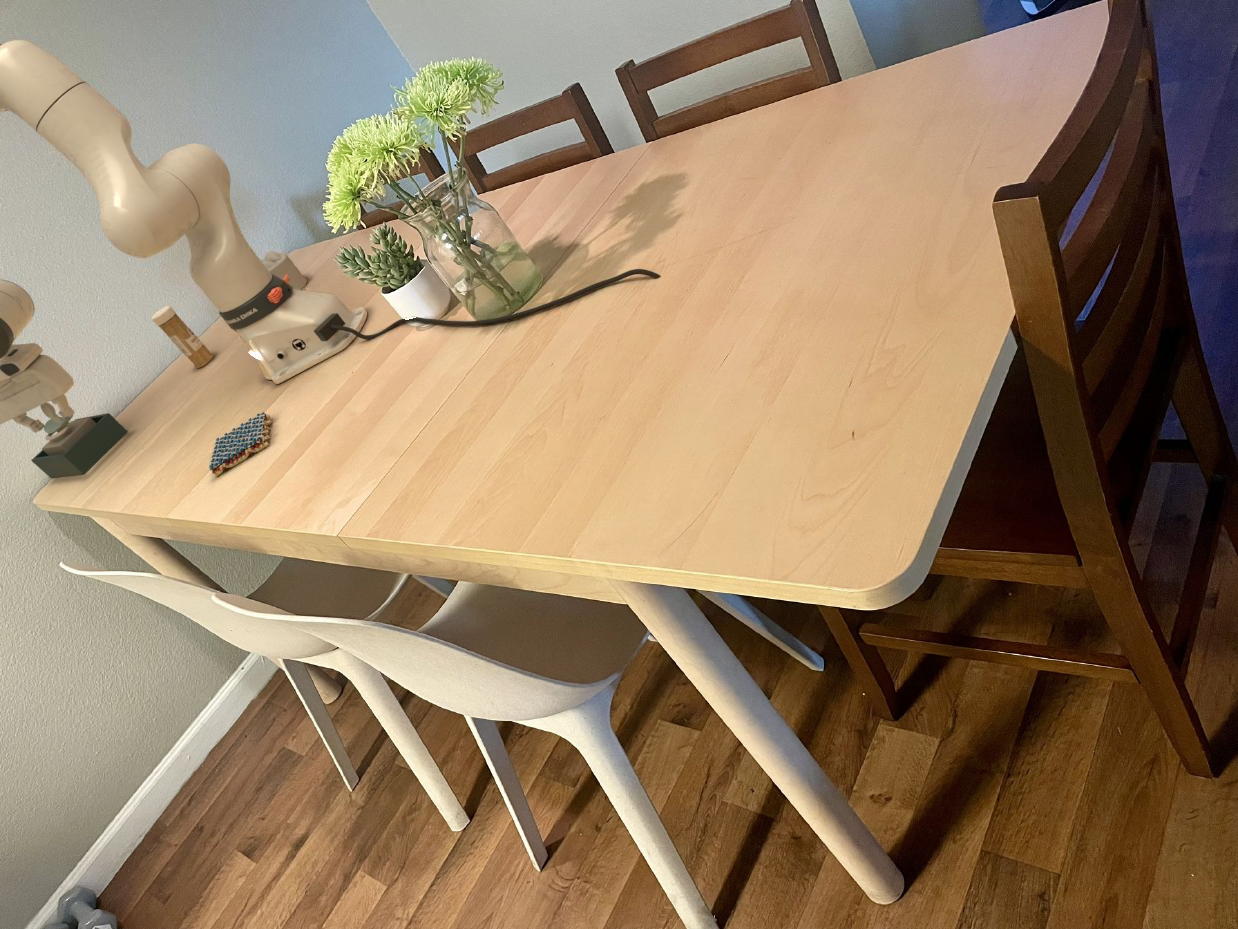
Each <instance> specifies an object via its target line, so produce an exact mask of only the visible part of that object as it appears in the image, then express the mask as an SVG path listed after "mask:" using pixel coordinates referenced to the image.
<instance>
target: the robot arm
mask: <svg viewBox="0 0 1238 929" xmlns="http://www.w3.org/2000/svg"><path fill="white" fill-rule="evenodd" d="M6 111H8V112H11V113H12V114H14V115H16V116H17V117H18V118H20V119H21V120H22V121H23V122H25V123H26V124H27V125H28V126H29V127H30V128H32V129H33V131H35V132H36V133H38V134H39V135H40V136H41V137H42V138H43V139H44V140H46V141H47V142H48V143H49V144H50V145H51V146H53V147H54V148H55V149H56V150H57V151H58V152H59V153H61V155H63V156H64V157H65V158H66V159H67V160H68V161H69V162H70V163H72V164H73V165H74V167H75V168H77V169H78V171H79V172H80V174H82V175H83V177H84V178H85V179H86V181H87V182H88V184H89V185H90V188H91V189H92V190H93V193H94V194H95V198H96V200H97V203H98V207H99V223H100V227H101V230H102V231H103V234H104V236H105V237H106V239H107V240H108V241H109V242H110V243H111V245H112V246H113V247H114V248H116V249H117V250H118V251H120V252H121V253H124V254H126V255H128V256H130V257H133V258H137V259H148V258H151V257H153V256H155V255H157V254H159V253H161V252H163V251H165V250H167V249H169V248H170V247H172V246H173V245H174V244H175V243H177V242H178V240H180V239H182V237H184V236H185V237H186V239H187V242H188V246H189V249H190V250H189V251H190V261H189V273H190V276H191V279H192V280H193V282H194V283H195V284H196V285H197V287H198V288H199V289H200V290H201V291H202V292H203V293H204V294H205V296H206V297H207V298H208V299H209V300H210V302H211V303H212V304H213V305H214V306H215V307H216V309H217V310H218V311H219V312H218V315H219V316H220V317H221V318H222V319H223V321H224V322H225V323H226V324H227V326H228V327H229V328H230V329H231V330H233V331H234V332H236V333H237V334H238V336H239V337H240V338H241V339H242V341H243V342H244V344H245V345H246V347H247V348H248V350H249V351H248V354H250V356H252V357H253V358H254V359H255V361H256V363H257V365H258V366H259V369H260V370H261V372H262V375H263V378H264V379H265V380H268V381H272V382H273V383H274V384H275V385H280V384H281V383H283V382H285V381H287V380H289V379H291V378H292V377H295V376H297V375H298V374H300V373H302V372H304V371H306V370H308V369H309V368H311V367H313V366H315V365H317V364H319V363H321V362H323V361H325V360H327V359H329V358H331V357H333V356H334V355H336V354H338V353H340V352H341V351H344V349H346V348H347V347H348V346H349V345H350V344H351V343H352V342H354V339H355V338H357V337H358V338H360V339H362V340H374V339H376V338H378V337H380V336H383V335H384V334H386V333H388V332H390V331H391V330H393V329H395V328H396V327H398V326H400V325H402V324H404V323H409V322H419V323H424V324H434V325H442V326H455V327H475V326H476V327H477V326H485V325H487V326H488V325H493V324H498V323H503V322H504V323H505V322H507V321H508V322H509V321H513V320H516V319H519V318H523V317H526V316H529V315H534V314H536V313H539V312H542V311H545V310H547V309H550V308H554V307H555V306H559V305H560V304H563V303H567V302H569V301H571V300H574V299H576V298H578V297H580V296H582V295H584V294H587V293H589V292H592V291H594V290H597V289H599V288H602V287H606V286H608V285H611V284H614V283H617V282H620V281H621V280H624V279H626V278H628V277H632V276H634V275H643V276H647V277H650V278H653V279H655V280H657V279H660V278H661V277H662V276H661V275H660V274H659V273H657V272H654V271H651V270H649V269H644V268H634V269H629V270H627V271H625V272H622V273H620V274H618V275H615V276H613V277H610V278H607V279H604V280H601V281H598V282H596V283H593V284H591V285H588V286H585V287H584V288H582V289H579V290H577V291H575V292H573V293H572V292H571V293H570V294H568V295H566V296H563V297H560V298H557V299H555V300H552V301H549V302H547V303H544V304H541V305H539V306H536V307H532V308H529V309H527V310H522V311H519V312H516V313H512V314H508V315H504V316H500V317H495V318H488V319H481V320H445V319H444V320H443V319H435V318H426V317H425V318H424V317H419V316H415V317H416V318H413V319H409V320H405V319H403V318H400V319H398V320H395V321H394V322H393V323H392V324H390V325H389V326H387V327H386V328H384V329H383V330H381V331H379V332H376V333H374V334H363V333H361V331H362V328H363V327H364V324H365V323H366V321H367V318H368V311H367V310H366V308H364V307H363V306H360V307H356V308H354V309H350V308H349V307H348V305H346V304H345V302H344V301H342V299H340V298H339V297H338V296H336V295H335V294H333V293H326V292H318V291H310V290H304V289H301V290H298V289H293V287H292V286H291V285H289V284H288V282H289V280H290V279H291V277H290V278H289V279H288V280H287V277H288V274H286V275H285V276H284V278H283V279H280V278H279V277H277V276H275V275H273V274H271V273H270V272H269V271H268V269H267V268H266V267H265V266H264V264H263V263H262V262H261V259H260V258H259V256H258V255H257V254H256V252H255V251H254V250H253V248H252V247H251V245H250V244H249V242H248V241H247V240H246V237H245V236H244V234H243V233H242V230H241V228H240V225H239V223H238V221H237V219H236V214H235V212H234V208H233V205H232V200H231V181H232V180H231V173H230V170H229V168H228V166H227V164H226V163H225V161H224V160H223V158H222V157H221V156H220V155H219V154H218V153H217V152H216V151H214V150H213V149H212V148H210V147H208V146H206V145H204V144H201V143H195V142H193V143H188V144H184V145H181V146H178V147H177V148H174V149H172V150H171V149H170V150H169V151H167V152H166V153H165V154H163V155H162V156H161V157H159V158H158V159H156V161H153V163H152V164H150V165H149V166H148V167H147V166H145V165H144V164H143V163H142V162H141V160H140V159H139V157H137V156H136V154H135V153H134V151H133V150H134V149H132V145H131V143H132V139H133V129H132V126H131V123H130V121H129V119H128V118H127V116H126V115H124V114H123V113H122V112H121V111H119V109H117V107H115V106H114V105H113V104H112V103H110V101H109V100H107V99H106V98H105V97H104V96H103V95H102V94H101V93H99V92H98V91H97V90H96V89H95V88H94V87H93V86H92V85H90V83H88V82H87V81H86V80H85V79H84V78H82V77H81V76H80V75H79V74H78V73H77V72H75V70H73V69H71V68H70V67H69V66H67V65H66V64H65V63H64V62H62V61H61V60H59V59H58V58H56V57H55V56H54V55H52V54H51V53H49V52H48V51H46V50H45V49H43V48H42V47H40V46H38V45H37V44H35V43H33V42H31V41H28V40H26V39H25V40H24V39H13V40H10V41H7V42H4V43H0V114H2V113H4V112H6ZM34 314H35V302H34V301H33V298H32V297H31V295H30V294H29V293H28V292H27V290H25V289H24V288H23V287H21V286H20V285H18V284H17V283H15V282H12V281H10V280H7V279H0V425H2V424H4V423H7V422H8V421H10V420H13V421H14V422H15V423H16V424H19V425H21V426H23V427H26V428H28V429H29V430H30V431H32V432H33V433H34V434H37V433H39V432H40V431H42V430H44V425H45V423H42V421H41V420H40V419H34V418H32V417H30V416H28V412H29V411H32V410H34V409H36V408H38V407H41V406H40V405H42V404H45V403H49V402H51V403H52V404H53V405H57V407H58V409H59V411H58V415H60V417H63V418H64V419H67V418H69V417H71V416H72V415H73V416H74V414H75V410H74V408H72V407H71V406H70V405H69V402H68V398H67V396H66V394H67V393H68V392H69V391H70V390H71V388H73V387H74V385H75V382H74V378H73V377H72V375H71V374H70V373H69V372H68V371H67V370H66V369H65V368H64V367H63V366H62V365H60V364H59V363H58V362H57V361H56V360H55V359H54V358H52V357H51V356H50V355H47V354H42V353H43V352H44V350H43V348H42V347H41V345H40V344H37V343H36V342H31V343H30V342H29V343H21V344H19V343H17V344H16V343H15V344H14V342H15V341H16V339H17V338H18V337H19V336H20V335H21V333H23V331H24V329H25V328H26V327H27V326H28V325H29V323H30V322H31V320H32V319H33V317H34Z"/></svg>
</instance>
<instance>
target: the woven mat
mask: <svg viewBox="0 0 1238 929" xmlns="http://www.w3.org/2000/svg"><path fill="white" fill-rule="evenodd" d="M271 424H273V421H272V420H271V415H270V414H267V413H266V412H264V411H262V412H261V413H259V412H258V413H257V414H256V416H254V417H253V418H251V417H250V418H249V419H248V421H246V422H245V423H243V422H241V423H240V426H238V427H237V428H235V427H234V428H232V429H231V430H232V431H230V432H228V433H227V432H225V433H224V434H223V436H222V437H217V438H216V439H215V442H214V444H213V445H212V446H214V447H213V448H212V449H211V450H212V453H211V457H209V458H210V462H208V464H209V466H208V469H209V471H211V473H212V474H213V476H214V477H215V478H217V477H218V476H219V475H221V474H222V473H223V472H224V470H226V469H229V468H234V467H235V466H237V465H239V464H241V463H242V462H243V461H245V460H247V458H248V457H249V456H250V455H252V454H253V453H257V452H261V451H262V450H264V449H265V448H267V447H268V446H270V443H269V442H268V441H269V440H270V439H271V436H270V435H269V432H270V430H271V428H270V427H269V426H270V425H271Z"/></svg>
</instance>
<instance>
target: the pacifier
mask: <svg viewBox="0 0 1238 929" xmlns="http://www.w3.org/2000/svg"><path fill="white" fill-rule="evenodd" d="M39 407H40V409H41V412H42V413H43V414H44V415H45V417H47V418H49V420H47V421H46V422H45V423H44V428H43V431H44V432H45V433H46V435H45V438H44V439H45V440H46V441H50V440H53V439H55V438H57V437H59V436H61V435H62V434H64V433H65V432H66V431H67V430H68V428H69V427H70V426H71V424H70V422H71V421H72V420H71V419H72V418H73V417H74V414H73V415H72V416H71V417H69V418H67V419H64V418H63V417H62V416H59V414H57V413H56V409H55V407H54V405H52V404H51V403H49V402H47V403H45V404H42V405H40V406H39ZM55 433H56V434H55Z"/></svg>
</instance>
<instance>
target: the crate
mask: <svg viewBox="0 0 1238 929" xmlns="http://www.w3.org/2000/svg"><path fill="white" fill-rule="evenodd" d="M85 418H91V419H92V420H93V421H94V422H95V423H96V424H95V425H94V426H93V427H92V428H91V429H90V430H89V431H88V432H87V433H86V434H85V435H84V436H83V437H82V438H81V439H80V440H78V441H77V442H76V443H75V444H74V445H73V446H72V447H71V448H70V449H69V450H68V451H67V452H66V453H65V454H59V455H52V456H49V455H48V454H47V453H46V452H44V451H43V450H42V449H41V451H39V452H38V453H37V454H36V455H35V456H34V457H33V458H32V459H30V460H31V462H32V464H34V465H35V466H36V467H37V468H39V469H40V470H41V471H42V472H44V474H46V475H47V476H48V477H49V478H50V479H58V478H59V479H60V478H66V477H67V478H68V477H76V476H84V475H86V474H87V473H88V472H89V471H90V470H91V469H92V468H93V467H94V466H95V465H96V464H97V463H98V462H99V461H100V460H101V459H102V458H103V457H104V456H105V455H106V454H107V453H108V452H109V451H110V450H111V449H112V448H113V447H114V446H115V445H116V444H117V443H118V442H119V441H121V440H122V438H123V437H125V435H127V434H128V432H129V431H128V430H127V429H126V428H125V427H124V426H123V425H122V424H121V423H120V422H119V421H118V420H117V418H115V417H114V416H113V414H111V413H110V412H107V413H101V414H97V415H96V414H95V415H91V416H90V415H89V416H86V417H85V416H84V417H80V418H76V419H74V420H73V421H75V420H80V419H85Z"/></svg>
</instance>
